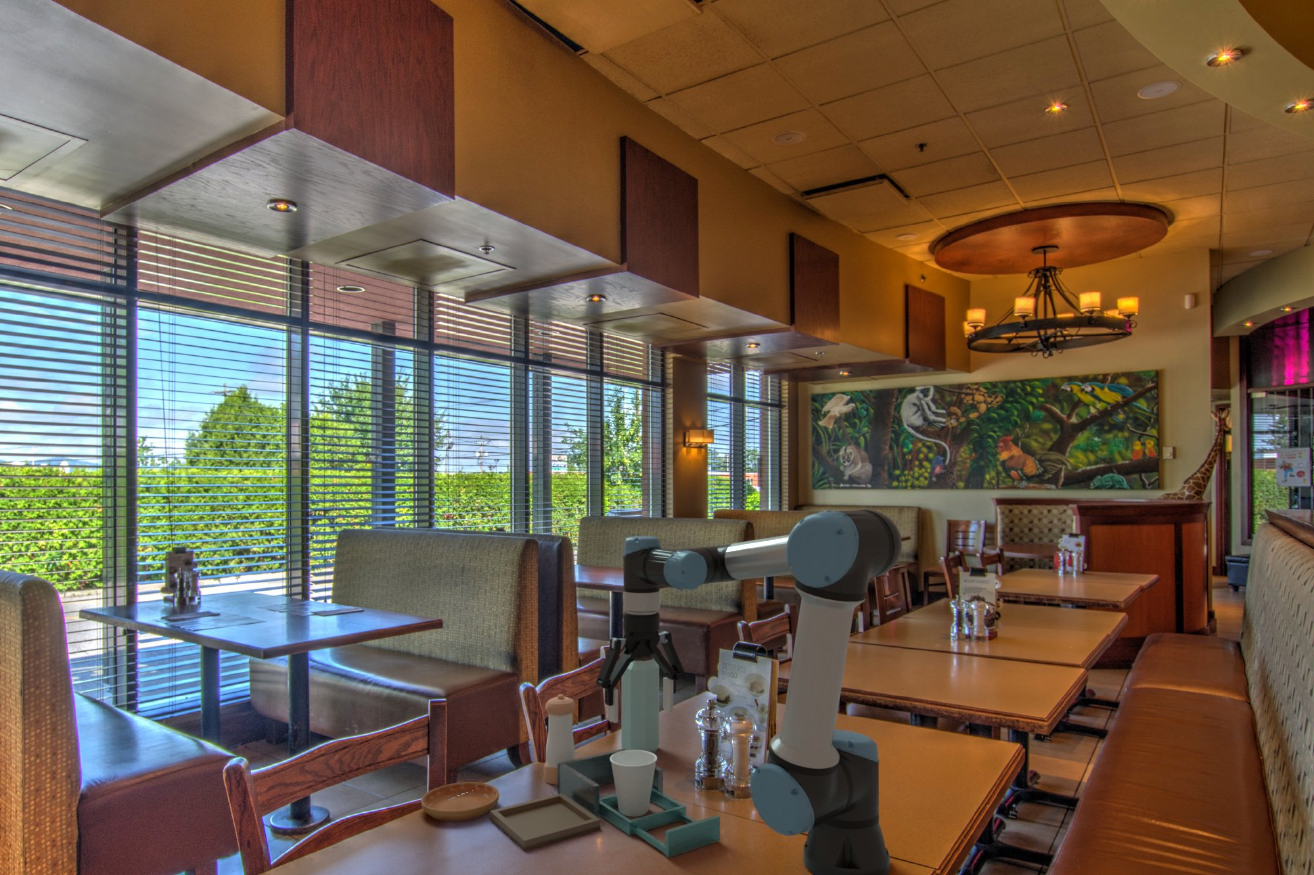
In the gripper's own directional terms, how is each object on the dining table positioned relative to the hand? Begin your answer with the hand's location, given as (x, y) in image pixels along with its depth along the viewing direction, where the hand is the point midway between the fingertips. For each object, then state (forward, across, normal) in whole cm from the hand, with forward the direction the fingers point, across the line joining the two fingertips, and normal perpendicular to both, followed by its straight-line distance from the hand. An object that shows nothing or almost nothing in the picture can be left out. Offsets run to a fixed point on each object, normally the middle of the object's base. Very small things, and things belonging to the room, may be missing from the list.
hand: (641, 715), depth 168 cm
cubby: (+20, 0, -12) cm, 24 cm away
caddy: (+20, 0, +6) cm, 21 cm away
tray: (+20, +18, -8) cm, 28 cm away
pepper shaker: (+21, +4, -28) cm, 35 cm away
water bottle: (+21, -22, -34) cm, 45 cm away
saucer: (+21, +29, -25) cm, 44 cm away
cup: (+21, 0, -3) cm, 21 cm away
